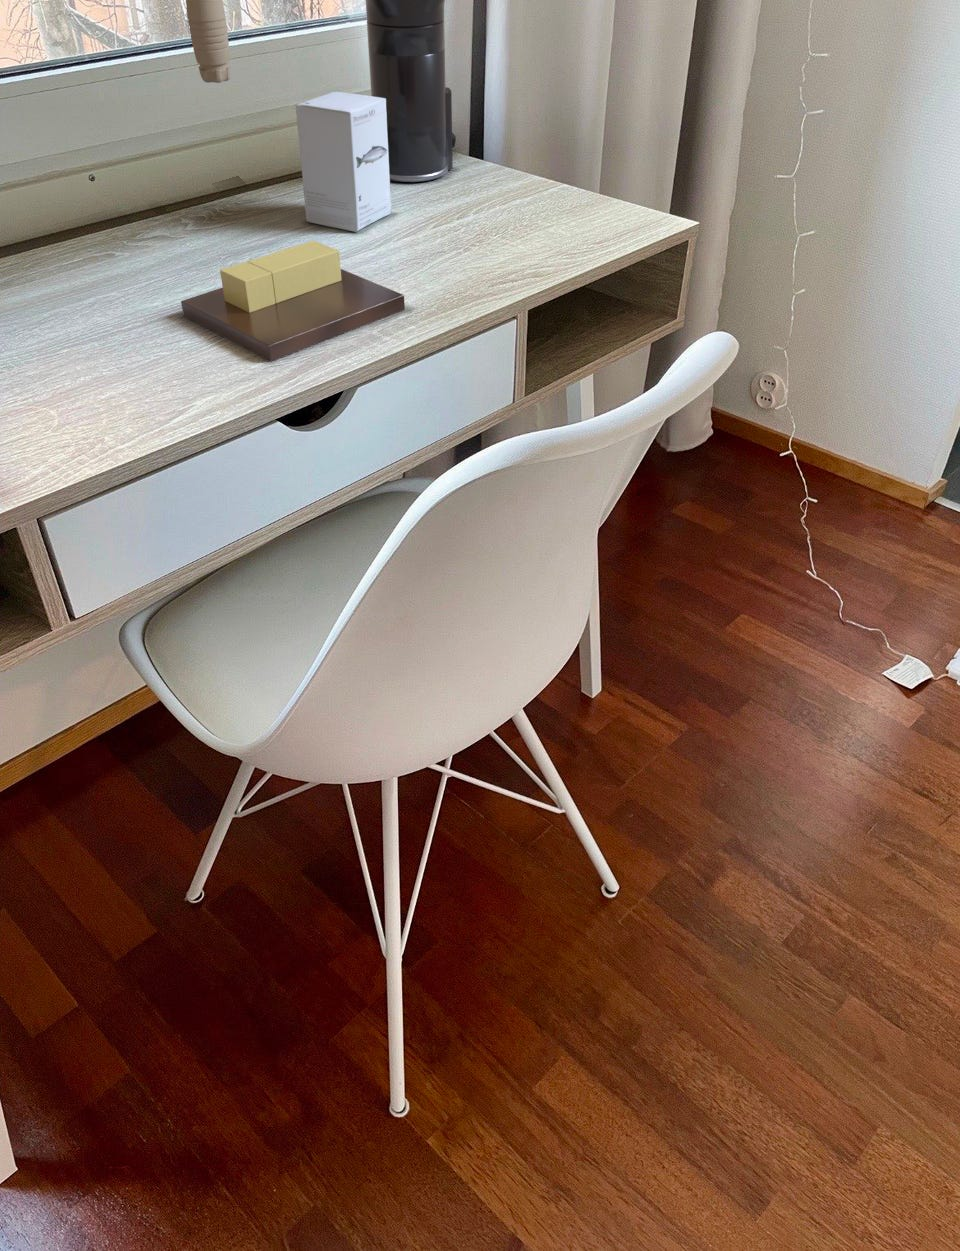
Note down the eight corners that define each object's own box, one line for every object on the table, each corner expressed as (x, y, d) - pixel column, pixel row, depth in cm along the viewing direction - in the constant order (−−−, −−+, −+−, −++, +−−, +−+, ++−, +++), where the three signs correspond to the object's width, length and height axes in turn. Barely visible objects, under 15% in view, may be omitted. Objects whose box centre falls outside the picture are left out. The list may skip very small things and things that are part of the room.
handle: (217, 89, 110) (192, -81, 101) (179, 79, 114) (151, -86, 104) (252, 80, 113) (231, -86, 104) (214, 71, 116) (190, -91, 107)
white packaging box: (358, 233, 117) (349, 112, 109) (304, 222, 120) (292, 103, 112) (393, 214, 122) (387, 96, 114) (341, 204, 125) (332, 88, 117)
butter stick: (316, 270, 105) (313, 240, 103) (341, 280, 103) (339, 250, 101) (251, 292, 101) (246, 261, 99) (276, 303, 98) (272, 272, 96)
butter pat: (250, 292, 100) (246, 261, 99) (275, 303, 98) (271, 272, 96) (224, 301, 99) (219, 269, 97) (249, 313, 97) (244, 281, 95)
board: (315, 271, 109) (313, 257, 108) (405, 309, 101) (404, 294, 100) (183, 316, 100) (180, 300, 99) (271, 361, 92) (268, 345, 91)
